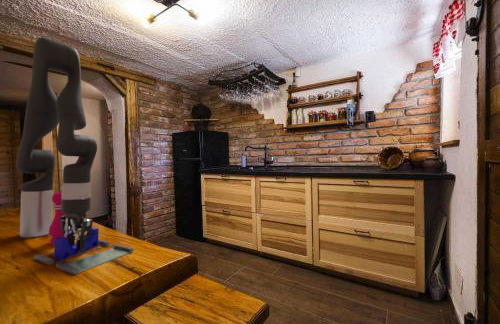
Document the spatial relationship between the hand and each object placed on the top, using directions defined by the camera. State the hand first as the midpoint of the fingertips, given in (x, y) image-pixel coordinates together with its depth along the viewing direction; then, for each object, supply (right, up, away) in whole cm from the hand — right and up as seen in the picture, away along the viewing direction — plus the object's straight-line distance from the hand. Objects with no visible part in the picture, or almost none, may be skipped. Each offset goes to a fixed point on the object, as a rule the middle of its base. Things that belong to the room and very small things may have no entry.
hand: (75, 249), depth 73 cm
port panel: (+5, -1, -2) cm, 6 cm away
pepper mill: (-12, -1, +9) cm, 15 cm away
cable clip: (0, -1, 0) cm, 1 cm away
